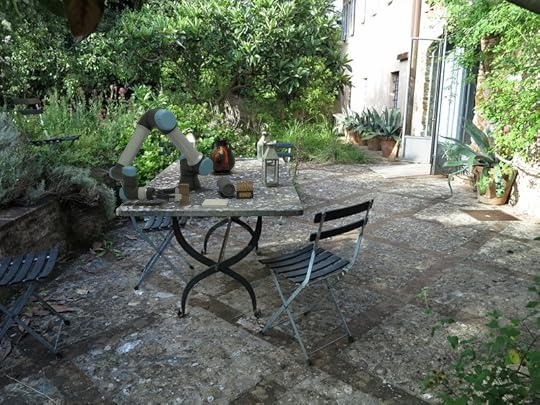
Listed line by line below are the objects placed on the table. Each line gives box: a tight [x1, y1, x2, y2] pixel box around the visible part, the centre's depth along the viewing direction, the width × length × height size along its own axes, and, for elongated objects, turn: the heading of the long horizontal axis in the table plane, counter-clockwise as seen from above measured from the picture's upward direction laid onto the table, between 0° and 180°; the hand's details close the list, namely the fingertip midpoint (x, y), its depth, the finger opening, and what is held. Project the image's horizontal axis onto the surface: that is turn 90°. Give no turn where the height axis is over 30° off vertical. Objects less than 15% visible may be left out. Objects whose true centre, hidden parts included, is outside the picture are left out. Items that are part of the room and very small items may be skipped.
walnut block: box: [178, 184, 190, 207], centre depth 264 cm, size 4×5×12 cm
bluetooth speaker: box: [216, 176, 236, 197], centre depth 291 cm, size 23×9×10 cm, turn 15°
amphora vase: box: [208, 137, 236, 176], centre depth 359 cm, size 22×22×28 cm
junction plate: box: [201, 198, 230, 209], centre depth 266 cm, size 14×14×2 cm
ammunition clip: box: [235, 179, 255, 200], centre depth 280 cm, size 11×2×12 cm, turn 100°
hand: (183, 194), depth 264 cm, fingers open, 13 cm apart
